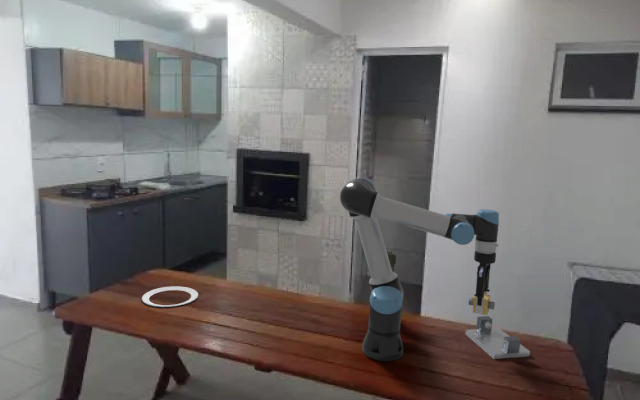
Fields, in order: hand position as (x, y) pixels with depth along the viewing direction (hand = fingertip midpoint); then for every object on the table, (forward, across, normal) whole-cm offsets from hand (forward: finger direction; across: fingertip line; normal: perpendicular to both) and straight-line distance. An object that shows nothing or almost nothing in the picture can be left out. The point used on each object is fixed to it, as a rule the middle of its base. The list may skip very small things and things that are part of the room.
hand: (480, 310), depth 173 cm
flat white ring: (+13, -33, +132) cm, 137 cm away
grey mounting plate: (+16, +8, -6) cm, 18 cm away
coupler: (0, 0, 0) cm, 0 cm away
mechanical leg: (+15, +7, +41) cm, 44 cm away
